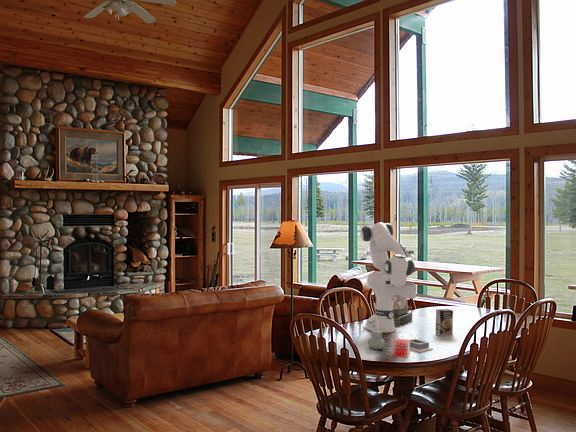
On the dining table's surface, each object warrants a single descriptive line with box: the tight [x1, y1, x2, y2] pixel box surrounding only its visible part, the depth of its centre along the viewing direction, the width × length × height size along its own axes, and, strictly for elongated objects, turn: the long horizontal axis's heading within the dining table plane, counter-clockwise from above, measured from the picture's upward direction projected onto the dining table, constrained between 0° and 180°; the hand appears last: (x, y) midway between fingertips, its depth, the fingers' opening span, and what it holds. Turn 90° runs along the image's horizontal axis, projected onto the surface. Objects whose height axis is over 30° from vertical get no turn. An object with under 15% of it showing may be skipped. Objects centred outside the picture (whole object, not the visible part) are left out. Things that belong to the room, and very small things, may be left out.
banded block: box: [394, 295, 404, 313], centre depth 325 cm, size 4×6×10 cm, turn 148°
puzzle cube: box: [392, 338, 411, 358], centre depth 302 cm, size 8×8×8 cm
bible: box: [393, 305, 413, 327], centre depth 391 cm, size 23×20×25 cm
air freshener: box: [367, 330, 386, 351], centre depth 315 cm, size 11×8×10 cm
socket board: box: [409, 338, 434, 353], centre depth 317 cm, size 14×11×4 cm
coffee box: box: [435, 308, 454, 337], centre depth 353 cm, size 9×6×16 cm
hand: (399, 304), depth 325 cm, fingers closed on banded block, 4 cm apart
